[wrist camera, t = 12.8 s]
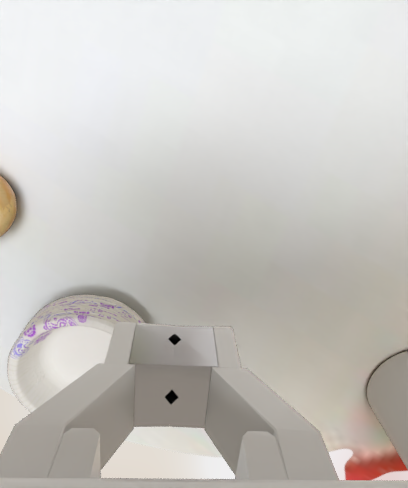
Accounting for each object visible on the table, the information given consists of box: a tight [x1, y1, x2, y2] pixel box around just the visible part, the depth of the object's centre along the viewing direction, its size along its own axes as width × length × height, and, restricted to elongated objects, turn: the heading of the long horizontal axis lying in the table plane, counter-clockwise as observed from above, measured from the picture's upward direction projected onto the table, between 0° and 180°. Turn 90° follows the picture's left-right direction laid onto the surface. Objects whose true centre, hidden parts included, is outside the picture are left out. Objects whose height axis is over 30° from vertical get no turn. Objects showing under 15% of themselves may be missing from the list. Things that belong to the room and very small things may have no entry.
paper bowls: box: [7, 295, 145, 413], centre depth 43 cm, size 15×15×8 cm
